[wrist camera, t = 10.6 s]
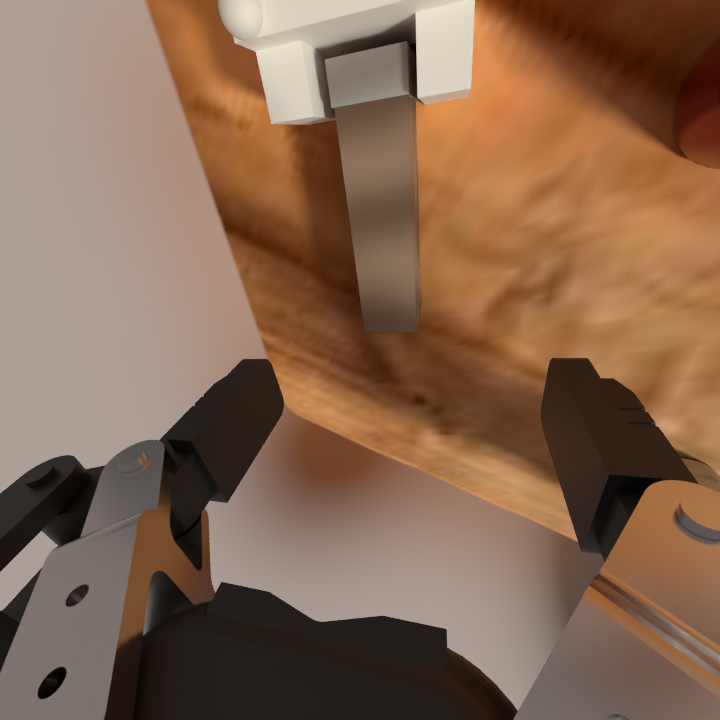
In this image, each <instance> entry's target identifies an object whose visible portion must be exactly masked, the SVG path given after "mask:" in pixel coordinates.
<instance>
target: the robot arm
mask: <svg viewBox="0 0 720 720" xmlns="http://www.w3.org/2000/svg"><path fill="white" fill-rule="evenodd" d="M283 407H284V400H283V396H282V393H281V390H280V387H279V384H278V381H277V378H276V375H275V373H274V370H273V367H272V364H271V362H270V361H269V360H267V359H243V360H242V361H241V362H240V363H239V364H238V365H237V366H236V367H235V368H234V369H233V370H232V371H231V372H230V373H229V374H228V375H227V376H226V377H224V378H222V379H221V380H219V381H218V382H216V383H215V384H214V385H213V386H212V387H211V388H210V389H209V390H208V391H207V392H206V393H205V394H204V397H201V398H200V399H199V400H198V401H197V402H196V403H195V406H192V407H191V408H190V409H189V410H188V411H187V412H186V413H185V414H184V415H183V417H181V419H180V420H179V421H178V422H177V423H176V424H175V425H174V426H173V427H172V428H171V429H170V430H169V431H168V432H167V433H166V434H165V435H164V436H163V437H162V438H161V439H160V440H159V441H158V440H146V441H142V442H139V443H136V444H134V445H132V446H130V447H128V448H126V449H124V450H123V451H121V452H120V453H118V454H117V455H116V456H115V457H114V458H112V459H111V460H110V461H109V462H108V463H107V465H106V466H101V467H96V468H90V469H85V468H84V467H83V466H82V465H81V464H80V462H79V461H78V460H77V459H76V458H75V457H74V456H70V455H66V456H60V457H56V458H53V459H50V460H48V461H46V462H44V463H41V464H40V465H38V466H36V467H35V468H33V469H31V470H30V471H28V472H27V473H25V474H24V475H23V476H21V477H20V478H19V479H18V480H16V481H15V482H14V483H13V484H12V485H10V486H9V487H8V488H7V489H5V490H4V491H3V492H2V493H1V494H0V571H1V570H2V569H3V568H4V567H5V566H6V565H7V564H8V563H9V562H10V561H11V560H12V559H13V558H14V557H15V556H16V555H17V554H18V553H19V552H20V551H21V550H22V549H23V548H24V547H25V546H26V545H27V544H28V543H29V542H30V541H31V540H32V539H33V538H34V537H35V536H36V535H37V534H38V533H39V532H40V531H42V532H44V533H45V534H46V535H47V536H48V537H49V538H50V539H51V540H53V541H54V542H55V543H56V544H57V545H58V546H59V547H57V548H55V549H54V550H52V551H51V553H50V554H49V555H48V557H47V558H46V560H45V563H44V565H43V567H42V568H41V569H40V571H38V573H37V574H36V575H35V576H34V577H33V578H32V579H31V580H30V581H29V582H28V584H27V585H26V586H25V587H24V588H23V589H22V590H21V591H20V592H19V593H18V595H17V596H16V597H15V598H14V599H13V600H12V601H11V602H10V603H9V604H8V606H7V607H6V608H5V609H3V610H2V611H0V720H720V476H719V475H718V473H717V472H716V471H715V470H713V469H712V468H711V467H709V466H707V465H705V464H703V463H701V462H698V461H694V460H691V459H684V458H680V457H679V455H678V454H677V452H676V451H675V450H674V448H673V447H672V445H671V444H670V443H669V441H668V440H667V438H666V437H665V436H664V434H663V433H662V431H661V430H660V429H659V427H656V426H655V422H654V420H653V419H652V418H651V416H650V415H649V413H648V412H645V408H644V406H643V405H642V404H641V402H640V401H639V399H638V398H637V397H636V395H635V394H634V392H632V391H631V390H629V389H628V388H626V387H625V386H623V385H622V384H621V383H619V382H618V381H616V380H615V379H606V378H600V376H599V375H598V373H597V372H596V370H595V368H594V367H593V365H592V364H591V362H590V361H589V359H587V358H552V359H551V360H550V363H549V367H548V372H547V378H546V384H545V389H544V395H543V401H542V407H541V420H542V427H543V431H544V434H545V437H546V440H547V444H548V447H549V450H550V453H551V456H552V459H553V463H554V466H555V469H556V472H557V475H558V479H559V482H560V485H561V488H562V491H563V495H564V498H565V501H566V504H567V507H568V511H569V514H570V517H571V520H572V523H573V527H574V530H575V533H576V536H577V539H578V543H579V546H580V549H581V551H582V552H589V553H596V554H602V556H603V559H604V562H605V563H604V565H603V567H602V569H601V570H600V572H599V574H598V576H597V577H595V578H594V579H593V581H592V582H591V584H590V585H589V587H588V589H587V590H586V592H585V594H584V596H583V597H582V599H581V601H580V603H579V604H578V606H577V608H576V610H575V612H574V613H573V615H572V617H571V619H570V620H569V622H568V624H567V626H566V627H565V629H564V631H563V633H562V635H561V636H560V638H559V640H558V642H557V643H556V645H555V647H554V649H553V650H552V652H551V654H550V656H549V657H548V659H547V661H546V663H545V665H544V666H543V668H542V670H541V672H540V673H539V675H538V677H537V679H536V680H535V682H534V684H533V686H532V688H531V689H530V691H529V693H528V695H527V696H526V698H525V700H524V702H523V703H522V705H521V707H520V709H519V711H517V709H516V708H515V707H514V705H513V704H512V702H511V701H510V700H509V699H508V698H507V697H506V696H505V694H504V693H503V692H502V691H501V690H500V689H499V688H498V686H497V685H496V684H495V683H494V682H493V681H492V680H491V679H489V678H488V677H487V676H486V675H485V674H484V673H483V672H482V671H481V670H480V669H479V668H477V667H476V666H475V665H473V664H472V663H471V662H469V661H468V660H467V659H465V658H464V657H463V656H461V655H459V654H457V653H456V652H454V651H452V650H450V649H449V648H447V630H446V629H443V628H438V627H433V626H429V625H424V624H419V623H415V622H410V621H404V620H400V619H395V618H391V617H386V616H377V617H366V618H357V619H348V620H338V621H328V622H318V621H315V620H313V619H311V618H309V617H308V616H306V615H305V614H303V613H301V612H300V611H298V610H297V609H295V608H294V607H292V606H290V605H289V604H287V603H286V602H284V601H283V600H281V599H279V598H278V597H276V596H275V595H273V594H271V593H270V592H267V591H262V590H257V589H252V588H248V587H243V586H238V585H233V584H228V583H223V582H221V584H220V586H219V588H218V590H217V592H216V593H215V591H214V588H213V585H212V580H211V570H210V545H209V544H210V543H209V518H208V513H207V511H206V509H205V507H206V505H207V504H208V502H209V501H218V502H225V503H227V502H228V501H229V499H230V497H231V496H232V494H233V493H234V491H235V490H236V488H237V486H238V485H239V483H240V481H241V480H242V478H243V477H244V475H245V473H246V472H247V470H248V469H249V467H250V465H251V464H252V462H253V460H254V459H255V457H256V456H257V454H258V452H259V451H260V449H261V447H262V446H263V444H264V443H265V441H266V440H267V438H268V436H269V435H270V433H271V431H272V430H273V428H274V427H275V425H276V423H277V422H278V420H279V419H280V417H281V415H282V412H283Z"/></svg>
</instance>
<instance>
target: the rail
mask: <svg viewBox="0 0 720 720" xmlns="http://www.w3.org/2000/svg"><path fill="white" fill-rule="evenodd" d="M325 65H326V73H327V80H328V87H329V94H330V101H331V108H334V110H335V117H336V125H337V132H338V139H339V147H340V154H341V161H342V169H343V176H344V183H345V191H346V198H347V205H348V213H349V220H350V228H351V235H352V242H353V250H354V257H355V264H356V272H357V279H358V286H359V294H360V301H361V308H362V316H363V323H364V330H365V332H417V327H418V321H419V315H420V309H421V274H420V239H419V203H418V167H417V132H416V101H417V73H416V58H415V56H414V54H413V52H412V50H411V48H410V46H409V44H408V42H407V41H405V42H400V43H396V44H391V45H387V46H382V47H378V48H373V49H369V50H365V51H360V52H356V53H351V54H347V55H342V56H338V57H333V58H329V59H325Z"/></svg>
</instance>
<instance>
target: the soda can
mask: <svg viewBox="0 0 720 720" xmlns="http://www.w3.org/2000/svg"><path fill="white" fill-rule="evenodd" d="M674 130H675V138H676V140H677V143H678V146H679V148H680V149H681V151H682V152H683V153H684V154H685V156H686V157H687V158H689V159H690V160H692V161H693V162H695V163H696V164H699V165H702V166H705V167H708V168H713V169H720V37H719V38H718V39H717V40H716V41H715V42H714V44H713V45H712V46H711V47H710V48H709V49H708V50H707V52H706V53H705V54H704V55H703V56H702V57H701V59H700V60H699V62H698V63H697V65H696V66H695V68H694V69H693V71H692V72H691V74H690V75H689V77H688V79H687V81H686V83H685V85H684V87H683V89H682V91H681V94H680V97H679V100H678V104H677V107H676V111H675V119H674Z"/></svg>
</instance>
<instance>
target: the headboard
mask: <svg viewBox="0 0 720 720" xmlns="http://www.w3.org/2000/svg"><path fill="white" fill-rule="evenodd" d="M474 8H475V0H218V10H219V14H220V17H221V20H222V22H223V24H224V26H225V27H226V29H227V30H228V31H229V33H230V34H231V35H233V38H234V42H235V44H238V45H240V46H243V47H245V48H248V49H250V50H253V51H255V52H256V56H257V61H258V65H259V70H260V74H261V79H262V83H263V88H264V92H265V97H266V101H267V106H268V110H269V115H270V119H271V124H294V125H311V124H317V123H323V122H329V121H334V120H336V117H335V110H334V108H331V101H330V94H329V87H328V80H327V73H326V65H325V59H329V58H333V57H338V56H342V55H347V54H351V53H356V52H360V51H365V50H369V49H373V48H378V47H382V46H387V45H391V44H396V43H400V42H405V41H407V42H408V44H409V45H410V44H414V43H416V54H417V96H418V99H419V100H420V101H421V102H423V103H424V104H425V105H428V104H434V103H439V102H445V101H451V100H457V99H463V98H467V95H468V93H469V91H470V89H471V75H472V53H473V30H474Z"/></svg>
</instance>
